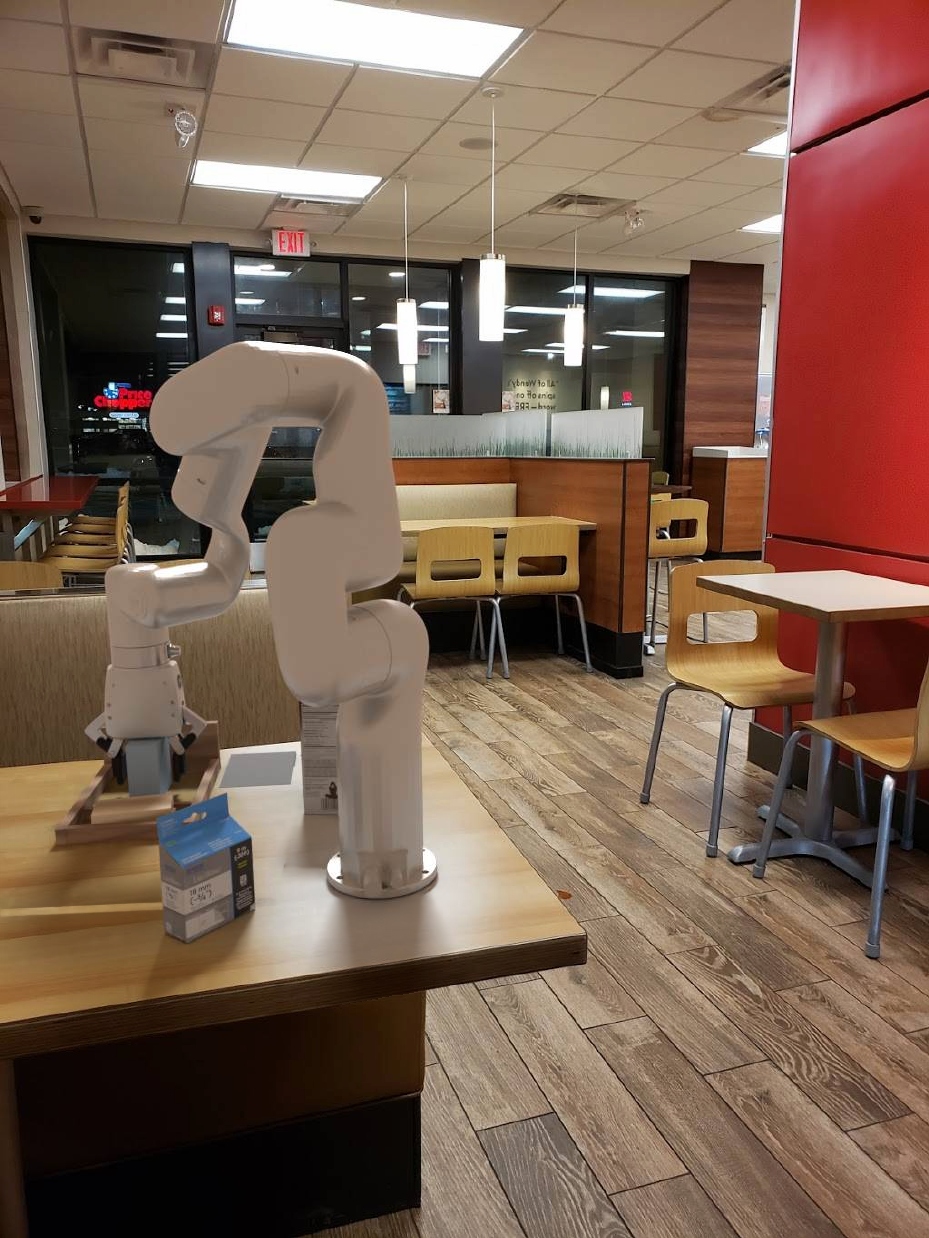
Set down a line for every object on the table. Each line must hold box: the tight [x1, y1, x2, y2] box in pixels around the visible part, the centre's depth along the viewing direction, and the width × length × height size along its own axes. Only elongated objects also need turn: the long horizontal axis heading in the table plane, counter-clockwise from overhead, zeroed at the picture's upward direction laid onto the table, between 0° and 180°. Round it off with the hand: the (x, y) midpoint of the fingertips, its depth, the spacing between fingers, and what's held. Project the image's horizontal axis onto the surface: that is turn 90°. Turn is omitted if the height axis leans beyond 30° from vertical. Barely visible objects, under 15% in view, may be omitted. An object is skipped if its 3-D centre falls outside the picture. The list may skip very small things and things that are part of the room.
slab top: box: [90, 792, 175, 824], centre depth 115 cm, size 5×9×2 cm, turn 104°
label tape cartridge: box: [156, 792, 256, 944], centre depth 93 cm, size 9×4×12 cm, turn 143°
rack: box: [54, 720, 222, 846], centre depth 123 cm, size 24×16×8 cm
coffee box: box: [298, 700, 340, 815], centre depth 123 cm, size 9×6×16 cm
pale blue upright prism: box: [125, 737, 173, 797], centre depth 126 cm, size 8×4×9 cm, turn 7°
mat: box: [218, 750, 297, 789], centre depth 136 cm, size 14×10×1 cm
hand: (150, 779), depth 126 cm, fingers open, 6 cm apart
